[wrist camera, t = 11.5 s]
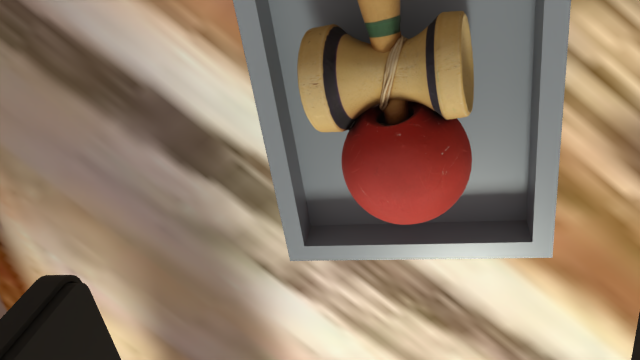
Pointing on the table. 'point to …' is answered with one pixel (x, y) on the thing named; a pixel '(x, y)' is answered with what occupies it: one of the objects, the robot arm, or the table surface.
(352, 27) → the cradle tray
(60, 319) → the robot arm
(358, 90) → the kendama
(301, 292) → the table surface
